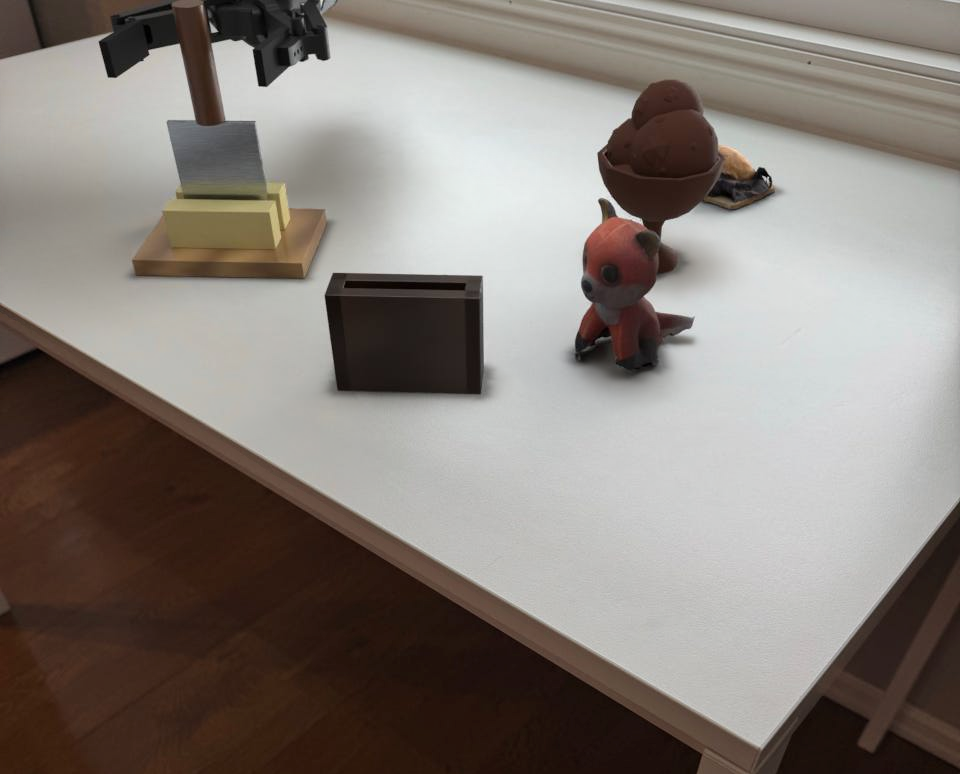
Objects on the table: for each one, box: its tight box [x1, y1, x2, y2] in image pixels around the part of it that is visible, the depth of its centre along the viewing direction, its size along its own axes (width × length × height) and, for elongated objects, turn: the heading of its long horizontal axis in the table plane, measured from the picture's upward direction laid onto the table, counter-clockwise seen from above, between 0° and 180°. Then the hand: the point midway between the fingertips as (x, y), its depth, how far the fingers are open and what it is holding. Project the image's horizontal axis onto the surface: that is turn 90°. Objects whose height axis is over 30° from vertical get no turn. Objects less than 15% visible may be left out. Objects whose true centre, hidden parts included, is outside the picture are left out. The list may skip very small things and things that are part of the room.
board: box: [131, 207, 328, 279], centre depth 94 cm, size 16×12×2 cm
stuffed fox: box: [574, 197, 696, 372], centre depth 75 cm, size 8×11×12 cm
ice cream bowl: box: [596, 78, 726, 275], centre depth 86 cm, size 11×11×15 cm
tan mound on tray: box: [703, 144, 776, 211], centre depth 102 cm, size 11×8×4 cm
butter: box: [161, 182, 290, 250], centre depth 92 cm, size 10×7×4 cm
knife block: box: [324, 272, 485, 395], centre depth 74 cm, size 11×4×8 cm, turn 86°
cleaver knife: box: [166, 0, 269, 201], centre depth 86 cm, size 8×3×19 cm, turn 86°
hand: (182, 64), depth 80 cm, fingers open, 13 cm apart
